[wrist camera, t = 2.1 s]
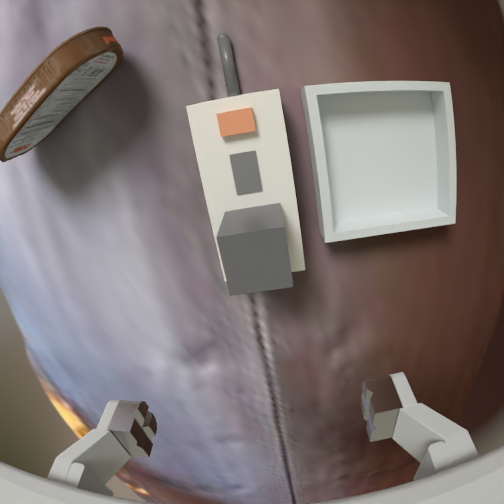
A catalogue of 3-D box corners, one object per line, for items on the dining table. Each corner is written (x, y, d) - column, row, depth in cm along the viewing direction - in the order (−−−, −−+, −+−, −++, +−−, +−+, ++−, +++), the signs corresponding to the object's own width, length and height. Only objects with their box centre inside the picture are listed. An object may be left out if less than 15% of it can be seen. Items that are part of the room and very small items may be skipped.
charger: (226, 206, 27) (216, 237, 21) (279, 198, 27) (285, 226, 20) (236, 254, 29) (230, 295, 23) (286, 246, 28) (293, 286, 22)
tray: (299, 88, 25) (304, 86, 22) (433, 83, 24) (449, 82, 21) (319, 230, 30) (325, 243, 27) (440, 213, 29) (455, 223, 26)
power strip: (183, 44, 23) (170, 34, 19) (264, 28, 23) (264, 14, 19) (228, 263, 32) (224, 285, 28) (300, 253, 31) (306, 273, 27)
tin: (124, 34, 23) (79, 13, 15) (141, 57, 24) (98, 41, 16) (23, 135, 26) (-31, 149, 19) (36, 157, 27) (-17, 175, 20)
